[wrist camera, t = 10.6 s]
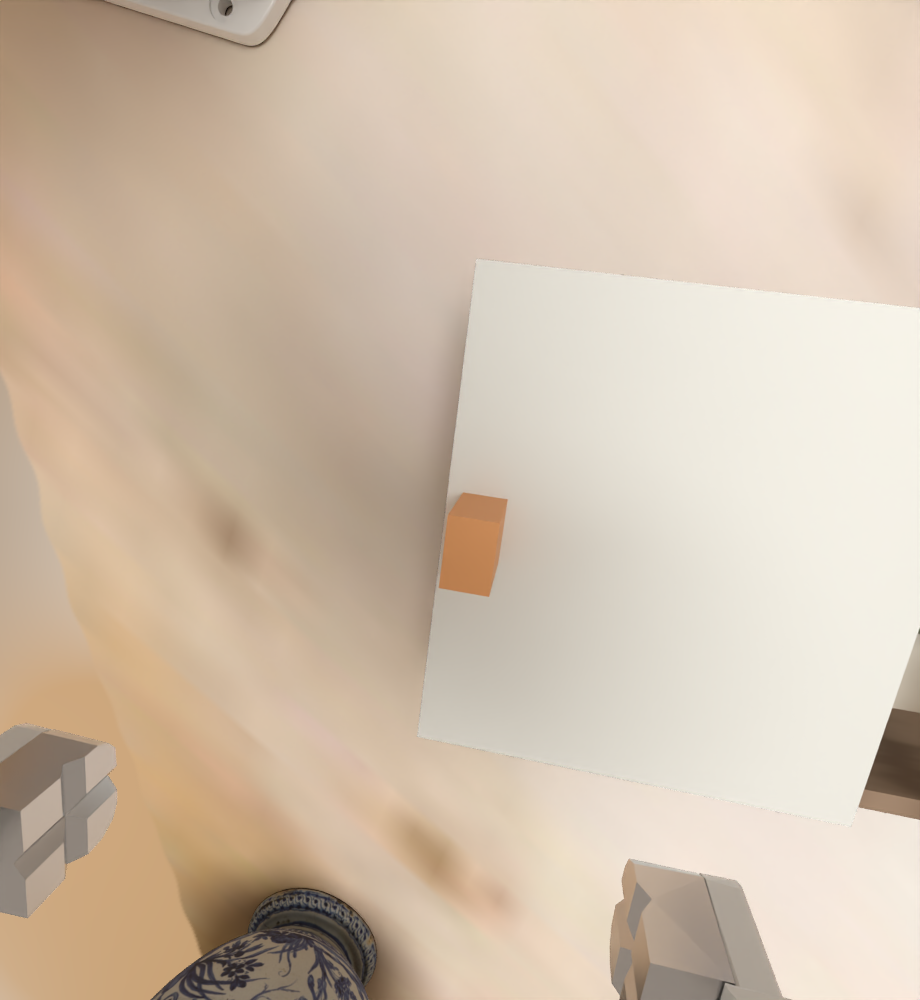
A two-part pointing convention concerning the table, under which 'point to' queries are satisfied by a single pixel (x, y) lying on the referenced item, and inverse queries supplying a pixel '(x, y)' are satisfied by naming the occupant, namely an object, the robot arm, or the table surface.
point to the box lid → (679, 535)
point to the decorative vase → (286, 955)
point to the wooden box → (899, 751)
